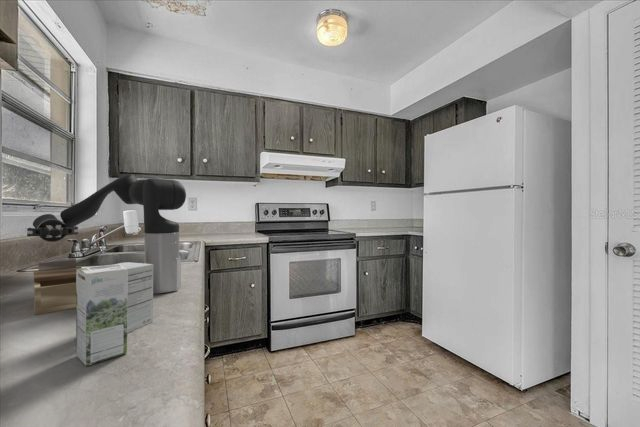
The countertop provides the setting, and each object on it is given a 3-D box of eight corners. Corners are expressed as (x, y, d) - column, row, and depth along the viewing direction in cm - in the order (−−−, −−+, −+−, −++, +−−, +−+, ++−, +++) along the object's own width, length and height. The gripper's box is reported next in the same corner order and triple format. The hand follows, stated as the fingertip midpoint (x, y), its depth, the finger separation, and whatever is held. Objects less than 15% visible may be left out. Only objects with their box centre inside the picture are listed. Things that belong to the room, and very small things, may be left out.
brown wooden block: (33, 273, 82) (33, 263, 82) (79, 268, 89) (79, 258, 89) (34, 282, 72) (34, 270, 72) (86, 276, 79) (86, 264, 79)
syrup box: (116, 344, 53) (116, 262, 53) (128, 354, 49) (128, 266, 49) (75, 356, 49) (75, 267, 48) (85, 368, 45) (85, 272, 45)
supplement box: (94, 331, 59) (93, 267, 59) (128, 318, 66) (127, 261, 66) (122, 335, 57) (122, 269, 56) (154, 321, 64) (154, 263, 64)
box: (34, 303, 76) (33, 279, 76) (83, 295, 83) (83, 274, 83) (34, 314, 68) (34, 288, 68) (90, 305, 75) (89, 281, 75)
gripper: (77, 239, 107) (83, 243, 94) (25, 242, 98) (24, 247, 85) (77, 218, 107) (83, 220, 94) (25, 219, 98) (24, 221, 85)
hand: (55, 233), depth 90 cm, fingers closed
